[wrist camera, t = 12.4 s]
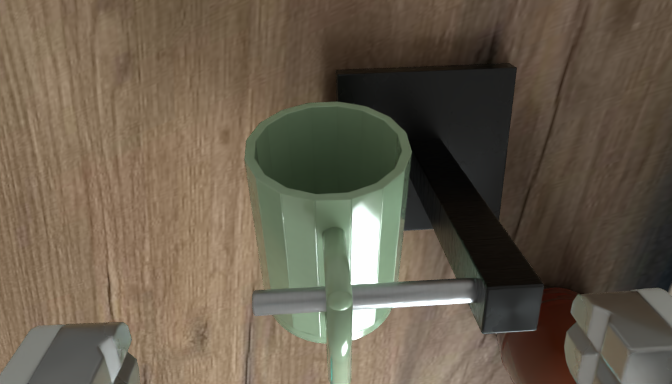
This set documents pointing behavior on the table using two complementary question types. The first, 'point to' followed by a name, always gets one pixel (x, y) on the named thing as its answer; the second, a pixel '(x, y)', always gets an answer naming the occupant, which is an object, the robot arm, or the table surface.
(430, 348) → the table surface
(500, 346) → the mug
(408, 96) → the mug stand
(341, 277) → the green mug
